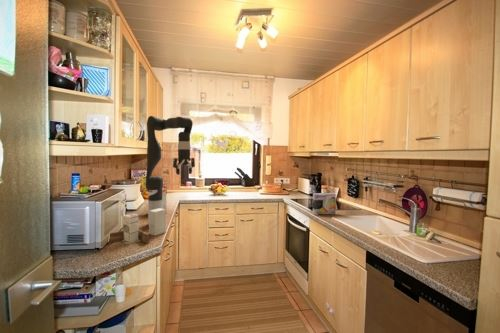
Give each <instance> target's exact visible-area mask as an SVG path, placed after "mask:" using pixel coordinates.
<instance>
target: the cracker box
mask: <svg viewBox="0 0 500 333" xmlns="http://www.w3.org/2000/svg"><path fill="white" fill-rule="evenodd" d="M157 191H158V190H147V192H148V193H147V194H148V195H147V196H150V195H152V194H155V193H156V192H157ZM162 208H163V209H165V210H166V211H167V188H164V187H163V189H162Z"/></svg>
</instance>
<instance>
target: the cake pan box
mask: <svg viewBox="0 0 500 333" xmlns="http://www.w3.org/2000/svg"><path fill="white" fill-rule="evenodd" d="M336 201H337V194H336V193H334V192H319V193H316V192H315V193H312V214H313V215H314V216H317V215H318V214H331V215H336V208H337V207H336ZM318 216H319V215H318Z"/></svg>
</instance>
